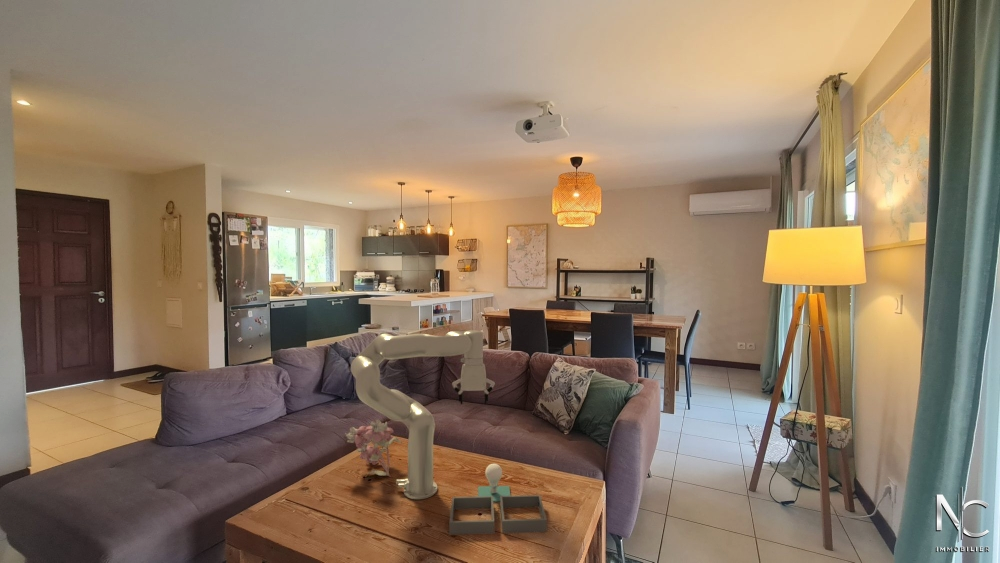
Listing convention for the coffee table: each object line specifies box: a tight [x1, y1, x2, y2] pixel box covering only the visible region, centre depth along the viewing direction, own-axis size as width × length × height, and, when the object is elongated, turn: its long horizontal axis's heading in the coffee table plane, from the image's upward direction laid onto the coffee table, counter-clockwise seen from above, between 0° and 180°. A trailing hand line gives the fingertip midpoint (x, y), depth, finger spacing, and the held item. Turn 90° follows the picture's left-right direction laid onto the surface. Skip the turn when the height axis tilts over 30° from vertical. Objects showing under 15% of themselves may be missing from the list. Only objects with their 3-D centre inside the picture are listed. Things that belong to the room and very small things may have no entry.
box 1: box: [448, 496, 495, 536], centre depth 140 cm, size 14×14×4 cm
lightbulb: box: [485, 463, 503, 494], centre depth 155 cm, size 6×6×11 cm
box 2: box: [499, 494, 548, 534], centre depth 141 cm, size 14×14×4 cm
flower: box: [344, 419, 403, 478], centre depth 173 cm, size 20×22×25 cm
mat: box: [477, 485, 511, 504], centre depth 155 cm, size 12×10×1 cm
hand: (473, 403), depth 167 cm, fingers open, 9 cm apart
